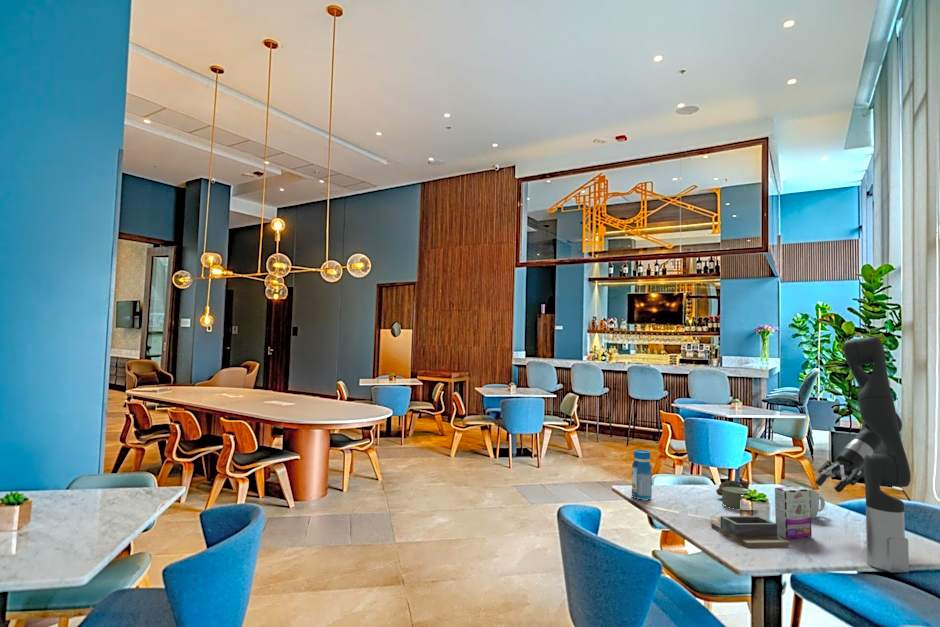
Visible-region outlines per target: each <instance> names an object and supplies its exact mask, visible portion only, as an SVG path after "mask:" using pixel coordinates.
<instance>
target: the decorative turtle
mask: <svg viewBox="0 0 940 627" xmlns="http://www.w3.org/2000/svg"><path fill="white" fill-rule="evenodd" d="M726 486H732V487H741V488H746V489H749V487H750V483H749V482H748V481H746V480H740V481H739V482H738V480H737V481H736V480H726V481H723V482H721V483H720V484H719V486H718V488H716V490H715V492H716V494H717V495H718V496H721V497H722V487H726Z"/></svg>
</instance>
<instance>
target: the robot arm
mask: <svg viewBox="0 0 940 627" xmlns="http://www.w3.org/2000/svg"><path fill="white" fill-rule="evenodd" d="M843 353H844V357H845V360H846V362H847V364H848V367H849V369H850V371H851V373H852V376H853V378H854V379H855V382H856V383H857V385H858V387H859V389H860V391H859V394H858V397H857V398H858V399H857V402H858V406H859V407H858V408H859V414H860V417H861V419H862V421H863V424H862V426H861V428H860V430H859V432H858V433H857V434H856V435H855V436H854V438H853V439H852V440H851V441H849V442H848V444H846V446H844V447H843V449H842V450H841V451H840V452H839V454H837V456H836V461H835V462H831V461H830V460H826V461H825V462H824V463H823V464H822V465H821V466H820V467H819V468H818V470H817V472H818V473H819V476H817V478H816V480H814V482H815V484H816V485H817V486H818V487H821V486H822V485H823V484H824V483H825V482H826V480H827V479H829V478H834V477H837V478H838V477H840V478H841V480H839V481H838V482H837V483H836V485H835V486H833V489H834V490H835V491H836V492H837V493H840V492H842V491H844V489H845V488H846V487H847V486H849V485H851V486H855V485H856V484H857V482H858V481H859V480H860V478H861V477H862V476H863V475H864V487H865V488H864V490H865V491H864V493H865V495H864V496H865V522H866V523H865V524H866V525H865V526H866V530H865V532H866V534H865V535H866V536H865V537H866V562H867V564H868V565H869V566H871V567H873V568H876V569H880V570H884V571H886V572H889V573H909V572H910V563H909V562H910V561H909V559H910V557H909V553H910V552H909V539H908V538H906V534H905V532H906V531H905V530H906V529H905V527H906V526H905V504H904V502H903V500H901V499H899V498H897V497H894V496H891V495H890V494H887V493H886V492H884V491H882V489H881V486H888V487H897V488H906V487H908V486H910V484H911V476H912V475H911V470H910V464H909V461H908V458H907V454H906V452H905V448H904V445H903V441H902V438H901V433H900V432H901V430H902V427H903V422H902V419H901V418H900V416H899V414H898V413H897V411H896V406H895V402H894V401H895V400H894V398H893V393H892V390H891V385H890V383H889V377H888V376H889V375H888V369H887V362H886V361H887V360H886V354H885V349H884V344H883V342H882V340H881V339H880V338H879V337H878V336H868V337H867V336H866V337H860V338H854V339H847V340H846V341H844V342H843ZM865 365H866V366H868V365H873V366H872V371H871V374H868V373H867V371H865V370H864V369H863V368H862V366H865ZM882 443H883V444H884V446H885V447H886V450H887V452H888V454H884V453H883V454H882V453H874V452H875V451H876V450H877V449H878V448H879V446H881V444H882ZM862 468H863V472H862V470H861V469H862Z"/></svg>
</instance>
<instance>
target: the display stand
mask: <svg viewBox="0 0 940 627" xmlns="http://www.w3.org/2000/svg"><path fill="white" fill-rule="evenodd" d="M710 524H711V526H710V527H711V528H712V529H714V530H715V531H717V532H719V533H721V534H723V535H725V536H726V537H728V538H730V539H732V540H734V541H735V542H737V543H739V544H741V545H742V546H744V547H746V548H786V547H787V548H788V547H790V541H788V540H787V539H785V538H783V537H780V536H778V535H777V524H776V522H774V521H772V520H769V519H768V518H765V517H764V516H763V517H762V516H760V515H746V516H745V515H731V516H730V515H729V516H728V515H721V516H720V522H711V523H710Z"/></svg>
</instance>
